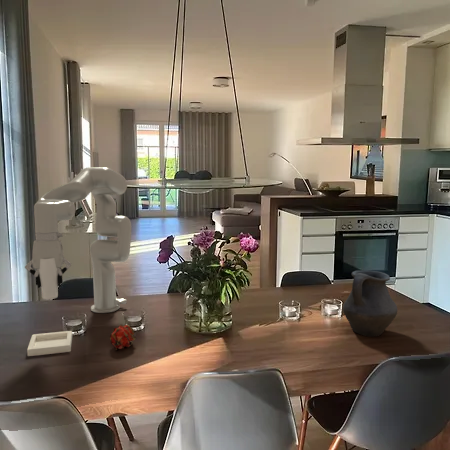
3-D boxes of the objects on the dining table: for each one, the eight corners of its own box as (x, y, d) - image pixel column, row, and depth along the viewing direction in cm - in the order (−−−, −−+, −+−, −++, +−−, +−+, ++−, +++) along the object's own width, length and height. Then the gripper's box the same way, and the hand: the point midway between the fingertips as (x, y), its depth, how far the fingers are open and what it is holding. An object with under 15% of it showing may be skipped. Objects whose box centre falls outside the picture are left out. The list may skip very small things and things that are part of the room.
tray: (72, 336, 174) (71, 330, 174) (70, 351, 161) (70, 345, 160) (32, 340, 170) (32, 334, 170) (27, 356, 157) (27, 349, 156)
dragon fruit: (130, 343, 171) (120, 362, 160) (112, 330, 171) (99, 348, 159) (142, 328, 169) (132, 345, 157) (123, 315, 168) (112, 331, 157)
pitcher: (404, 331, 179) (408, 269, 176) (380, 348, 164) (384, 281, 160) (356, 319, 193) (359, 261, 190) (329, 333, 177) (332, 271, 174)
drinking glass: (64, 296, 166) (62, 255, 164) (51, 301, 160) (49, 259, 158) (48, 294, 168) (46, 254, 166) (35, 299, 162) (33, 258, 160)
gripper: (73, 234, 167) (75, 282, 170) (22, 236, 162) (25, 285, 165) (72, 237, 160) (74, 287, 162) (18, 239, 155) (21, 290, 158)
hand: (49, 285), depth 164 cm, fingers closed on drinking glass, 6 cm apart
